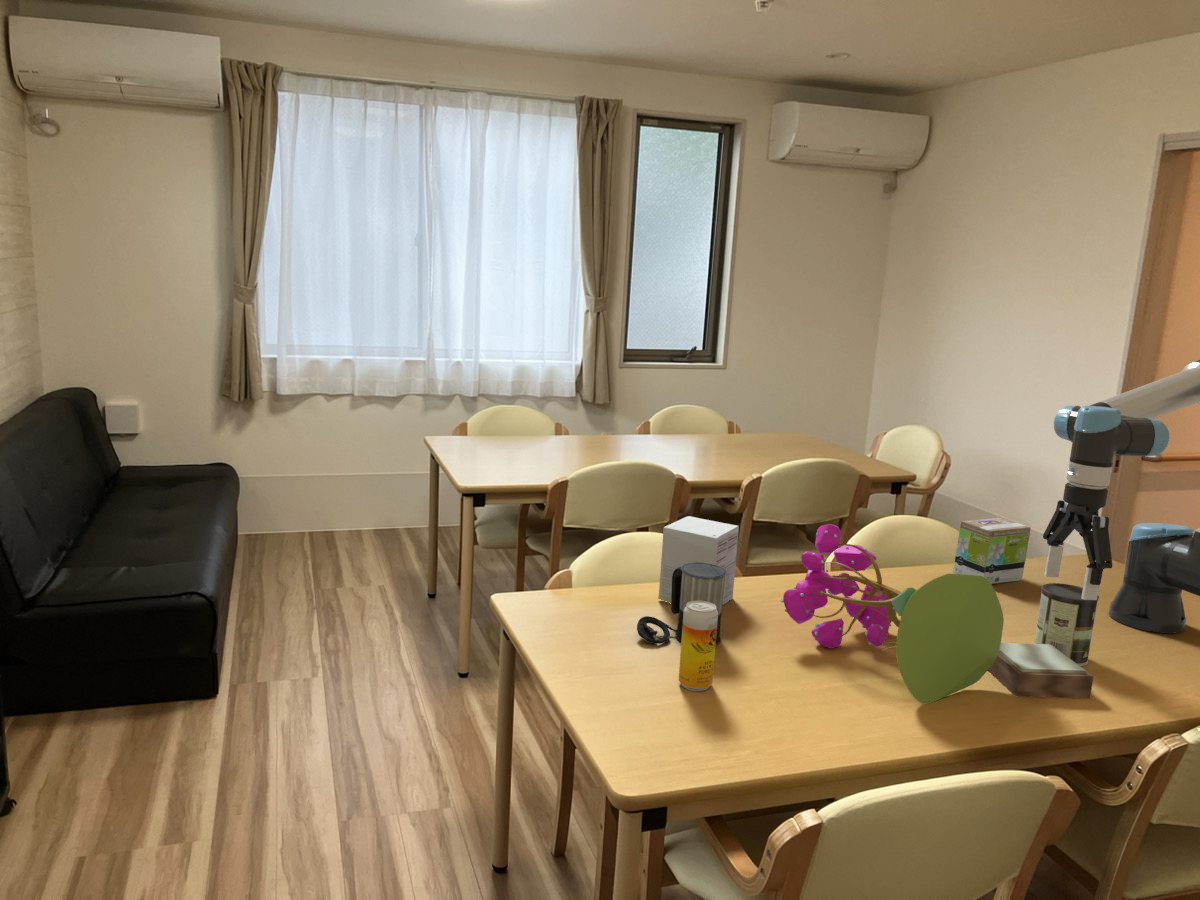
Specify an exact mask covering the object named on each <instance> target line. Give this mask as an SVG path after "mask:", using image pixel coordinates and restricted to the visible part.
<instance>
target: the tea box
mask: <svg viewBox="0 0 1200 900" xmlns="http://www.w3.org/2000/svg"><path fill="white" fill-rule="evenodd" d="M1031 529H1032V528H1031V527H1030V526H1027V525H1025V524H1021V523H1018V522H1015V521H1012V520H1009V519H1005V518H1001V517H993V518H982V519H968V520H961V521H960V527H959V533H958V539H957V544H956V545H957V546H956V551H955V558H954V563H953V564H954V565H953V571H952V574H967V575H979V576H982V577H984V578H986V579H987V580H988V581H989V582H990V583H991V585H993V584H1001V583H1002V584H1003V583H1010V582H1021V581H1022V580H1023V576H1024V570H1025V565H1026V557H1027V551H1028V547H1029V541H1030V536H1031Z"/></svg>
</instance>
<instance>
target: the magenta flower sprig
mask: <svg viewBox="0 0 1200 900" xmlns="http://www.w3.org/2000/svg"><path fill="white" fill-rule="evenodd" d="M841 538H842V531H841V529H840V528H839V526H837V525H836V524H832V523H831V524H830V523H827V524H822V525H820V526H819V527H818V528H817V530H816V534H815V541H814V545H815V548H816V550H817V552H819V553H816V552H812V551H805V552H803V553H802V554H801V555H800V558H801V559H800V560H801V564H802V566H804V567H805V568H806V569H807V572H806V575H805V577H804V580H803V579H802V580H799V581H797V583H796V585H795V587H794V588H789V589H787V590H785V592H784V593H783V597H782V599H781V600H780V602H781V603H783V604H784V607H785V609H784V612H785V613H787V614H788V616H789V617H790V618H791V620H793V621H794V622H795V623H796V624H797V625H798V624H799V625H801V624H803V623H805V622H807V621H810V620H811V619H813V617H815V618H819V619H820V618H821V619H826V618H827V619H828V618H831V617H834V616H836V615H838V614H840V613H841V612H842V611H843V609H844V608H845V610H846V612H847V614H848V615H849V616H850V617H851V618H853V619H852V620H851V622H850V624H849V627H848V628H847V630H846V631H845V632H844V624H845V623H844V620H843V618H839V619H833V620H829V621H828V620H827V621H822V622H821V623H815V627H814V628H813V629H812V630H811V635H812V636H813V638H814V641H816V642H817V643H818V644H819V645H821V646H823V647H826V648H828V649H833V648H837V647H841V644H842V642H843V641H842V640H843V636H845V635H846V634H848V633H849V632H850V630H851V629H852V627H853V625H854V623H855V622H856V621H858V622H859V623H860V624H861V625H862V626H861V627H862V628H863V629H865V630H866V631H865V632H864V635H865V636H866V640H867V641H868V645H870V646H875V647H882V646H883V645H885V644H886V640H887V638H888V636H889V629H890V627H891V626H892V623H893V624H894V625H895V626H896V627H897V628H898V629H897V635H896V642H895V641H891V642H888V644H891V643H892V644H895V646H893V648H895V649H896V651H895V653H896V663H897V668H898V671H899V673H900V676H901V677H902V681H903V683H904V685H905V687H906V688H907V690H908V691H909V693H910V694H911V696H912V697H913V698H914V699H915V700H916V701H917V702H918V703H921V704H922V705H923V704H924V703H927V704H930V702H932V703H934V701H935V702H936V701H939V700H941V699H944V698H946V697H948V696H951V695H952V694H955V693H957V692H959V691H962V690H964V689H966V688H968V687H970V686H972V685H973V686H974V684H976V683H978V681H980V680H981V679H982V677H984V676H985V674H986V673H987V672H989V671H988V669H989V668H990V667H991V666H992V665H993V663H994V661H995V659H996V657H997V655H998V652H999V649H1000V644H1001V643H1002V636H1003V630H1004V623H1005V622H1004V621H1005V619H1004V618H1005V617H1004V612H1003V608H1002V606H1001V603H1000V600H999V597H998V595H997V592H996V590H995V588H994V586H993V584H991V583H990V582H989V581H988V580H987V579H986V578H984V577H982V576H979V575H967V574H953V573H946V574H943V575H940V576H937V577H936V578H934V579H931V580H930V581H928V582H926V583H924V584H923V585H921V586H920V587H919V588H918V589H916V588H915V587H911V586H910V587H907V588H905V589H903V591H900V590H898V589H896V588H893V587H890V586H888V585H887V584H884V583H883V578H882V575H881V571H880V568H879V565H878V564H877V562H876V560H877V555H876V554H874V553H872V552H871V551H869V550H868V549H867V548H865V547H864V546H861V545H858V544H849V543H840V542H841ZM839 546H840V547H839ZM838 547H839V548H838ZM832 552H833V556H834V559H835V562H834V561H832V562H831V561H830V562H828V561H827V562H825V556H824V555H823V554H828V553H829V554H831V553H832ZM824 564H835V565H837V564H838V565H839V566H840V567H841V568H842V569H844V570H846V571H847V572H854V573H855V574H856V575H850V574H849V573H846V572H841V573H840V574H839V575H834V574H833V575H830V574H829V573H828V572H826V571H824V570H823V568H824ZM872 565H873V568H874V571H875V575H876V576H875V577H876V581H875V580H872V579H868V578H867V577H866V576H864V575H863V574H862V573H860V572H862V571H866V569H867V568H869V567H871V566H872ZM857 575H858V576H857ZM858 583H860V584H863V585H865V587H864V589H861V588H860V586H859V585H858ZM857 592H861V593H862V594H861V597H860V599H856V598H853V597H852V596H853V595H854V594H856V593H857ZM840 594H842V595H843V596H838V595H840ZM828 597H829V598H831V599H835V600H837V601H840V602H842V605H841V607H840V608H839V609H838V610H837V611H836V612H835V613H832V614H830V615H825V616H823V615H822V616H819V615H816V614H815V612H816V610H819V609H821V608H824V607H826V605H827V604H828V602H829V599H828ZM897 615H898V616H900V619H899V618H898V617H897ZM843 632H844V633H843ZM889 648H891V646H890V647H886V648H885V649H883V651H884V650H886V649H889Z"/></svg>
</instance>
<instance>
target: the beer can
mask: <svg viewBox="0 0 1200 900" xmlns="http://www.w3.org/2000/svg"><path fill="white" fill-rule="evenodd" d="M717 622H718V611H717V609H716V606H715V605H714V604H712V603H710V602H706V601H691V602H688V603H687V605H686V607H685V609H684V614H683V627H682V640H681V641H680V656H679V668H678V669H679V670H678V682H679V683H680V685H681V687H682V688H684V689H687V690H688V691H693V692H703V691H706V690H708V689H710V687H711V686H712V684H713V681H714V678H713V677H714V669H715V659H716V658H715V655H716V645H717V644H716V634H717Z"/></svg>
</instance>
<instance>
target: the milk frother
mask: <svg viewBox="0 0 1200 900" xmlns="http://www.w3.org/2000/svg"><path fill="white" fill-rule="evenodd" d="M726 574H727V571H726V570H725V569H724V568H722V567H720V566H717V565H714V564H709V563H701V562H695V563H687V564H684V565H683V566H682V567H678V568H676V569H675V570H674V572H673V575H672V593H671V604H670V611H671V613H672V614H673V615H678V621H677V622H678V623H677V627H676V628H677V629H674V628H673V627H671V626H669V624H667V623H665V622H663V621H662V620H660V619H658V618H657V617H655V616H641V617H640V619H639V620H638V622H637V625H636V632H637V633H638V635H639V637H640V638H642V640H644V641H646V642H648V643H650V644H657V645H658V644H659V645H660V644H664V643H667V642H668V641H669V640H670V637H671V632H670V631H673V632H675V638H676V640H678V641H680V642H681V640H682V627H683V614H684V609H685V607H686V605H687V603H688V602H691V601H706V602H710V603H712V604H714V605H715V606H716V609H717V611H718V622H717V634H716V645H718V644H719V643H720V642H721V640H722V639H721V626H722V625H721V623H722V621H721V620H722V611H723V606H722V604H723V595H724V584H725V575H726ZM648 624H652V625H655V626H656V627H658V628H660V629H661V630H662V633H663V636H661V637H658V636H657V635H658V631H657V630H655V629H654V628H653V627H651V626H650V625H649V626H648Z"/></svg>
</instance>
